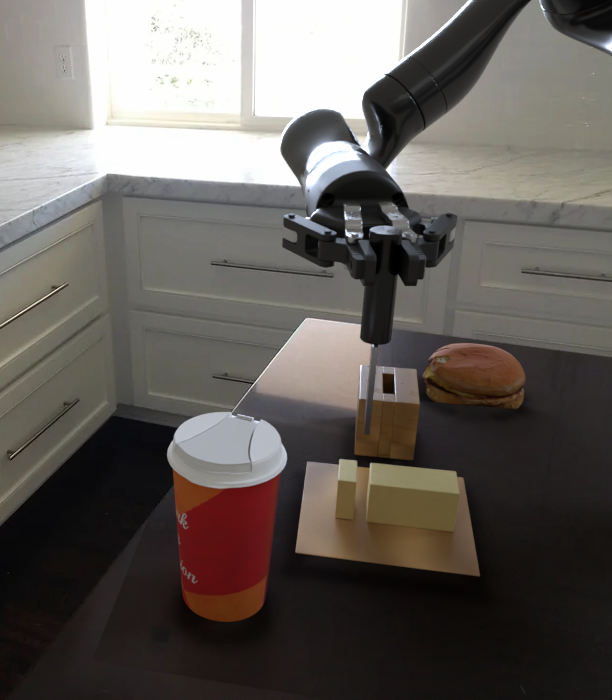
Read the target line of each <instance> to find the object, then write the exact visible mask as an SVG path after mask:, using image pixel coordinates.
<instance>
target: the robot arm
mask: <svg viewBox="0 0 612 700" xmlns="http://www.w3.org/2000/svg"><path fill="white" fill-rule="evenodd" d="M531 2H532V0H468V1H467V2H466V3H465V4H464V5H463V6H461V8H460V9H459V10H458V11H457V12H456V13H455V14H454V15H452V17H451V18H450V19H449V20H448V21H447V22H446V23H445V24H444V25H443V26H442V27H441V28H439V30H437V31H436V32H435V33H433V35H432V36H431V37H429V38H428V39H427V40H425V41H424V42H423V43H422V44H421V45H420V46H418V47H417V48H415V49H414V50H413V51H412V52H410V53H409V54H408V55H406V56H405V57H404V58H402V59H401V60H400V61H398V62H397V63H396V64H394V65H393V66H392V67H390V68H389V69H388V70H387V71H385V72H384V73H382V75H379V77H377V78H376V79H375V80H373V81H372V82H371V83H370V84H369V85H368V86H367V87H365V89H364V90H363V91H362V93H361V96H360V106H361V110H362V114H363V117H364V119H365V120H364V121H365V124H366V127H367V135H366V139H365V142H364V143H363V146H362V144H361V143H360V141H359V140H358V138H357V137H356V135H355V134H354V133H355V132H353V130H352V128H351V126H349V124H348V122H347V121H346V119H345V117H344V116H343V114H342V113H341V112H340V111H339V110H337V109H335V108H333V107H328V106H316V107H312V108H309V109H306V110H304V111H303V112H301V113H299V114H298V115H296V116H295V117H293V119H292V120H290V122H289V123H288V124H287V125H286V127H285V128H284V130H283V132H282V134H281V137H280V141H279V150H280V151H279V152H280V154H281V157H282V158H283V160H284V161H285V163H286V164H287V166H288V168H289V169H290V171H291V172H292V174H293V175H294V176H295V178H296V179H297V181H298V184H299V185H300V187H301V191H302V195H303V198H304V205H305V207H304V209H305V214H306V217H304V216H301V215H299V214H296V213H293V212H291V213H287V214H284V215H283V219H282V238H281V239H282V240H281V241H282V244H281V247H282V248H283V249H285V250H287V251H289V252H290V253H293V254H295V255H297V256H299V257H300V258H303V259H305V260H307V261H308V262H311V263H312V264H314V265H316V266H318V267H321V268H324V269H328V268H332V267H334V266H335V263H341V265H343V269H345V270H347V271H348V272H349V275H350V277H351V278H352V279H354V280H359V281H360V283H361V285H362V287H365V286H374V283H375V274H376V263H377V259H376V254H375V252H374V251H373V249H372V247H371V245H370V244H369V231H370V229H371V228H372V227H376V226H392V227H396V228H399V229H401V230H402V232H403V233H402V243H401V252H400V261H399V271H398V278H399V279H400V280H401V282H402V284H403V286H404V287H417V285H418V281H419V280H421V281H422V280H424V278H425V274H426V268H427V269H430V268H436V267H438V266H439V264H440V263H441V262H442V261H443V260H444V259H445V257H446V256H447V255H448V254H449V253H450V252H451V250H453V248H454V246H455V245H454V244H455V238H456V230H457V224H458V223H457V222H458V214H454V213H451V212H445V213H442V214H440V215H439V216H438V217H437V216H432V217H431V218H430V220H423V217H422V215H421V214H420V212H418V211H416V210H414V209H411V208H410V207H409V203H408V201H407V198H406V196H405V193H404V192H403V190H402V188H401V187H400V186H399V184H398V183H397V182H396V180H395V179H394V178H393V177H392V175H391V174H390V173H389V172H388V171H387V169H388V168H389V166H390V165H391V164H392V163H393V161H395V159H396V158H397V157H398V156H399V155H400V154H401V152H402V151H403V150H404V149H405V148H406V147H407V146H408V144H410V143H411V142H412V140H414V139H415V138H416V137H417V136H418V135H420V134H422V132H423V131H425V130H426V129H427V128H429V127H431V126H432V125H433V124H434V123H436V122H437V121H438V120H440V119H441V118H443V117H444V116H445V115H446V114H447V113H449V112H450V111H452V110H453V109H454V108H455V107H456V106H458V104H460V103H461V102H462V101H463V100H464V99H465V98H466V97H467V96H468V94H469V93H470V92H471V91H472V89H474V87H475V86H476V85H477V83H478V82H479V80H480V79H481V77H482V75H483V74H484V72H485V71H486V68H487V67H488V65H489V63H490V62H491V60H492V58H493V57H494V55H495V53H496V51H497V49H498V47H500V44H501V42H502V41H503V40H504V38H505V36H506V34H507V33H508V31H509V29H510V28H511V27H512V25H513V24H514V23H515V21H516V19H517V18H518V16H519V15H520V14H521V13H522V11H523V10H524V9H525V8H526V7H527V6H528V4H529V3H531ZM538 2H539V5H540V8H541V11H542V13H543V16H544V18H545V20H546V21H547V23H548V25H550V26H551V27H552V28H553V29H554V30H556V32H558V33H560V34H561V35H564V36H565V37H567V38H570V39H572V40H574V41H577V42H579V43H581V44H582V45H583V44H584V45H585V46H589V47H590V48H593V49H595V50H596V51H597V50H598V51H600V52H602V53H605V54H606V55H609V56H610V57H612V0H538ZM420 236H422V237H420Z"/></svg>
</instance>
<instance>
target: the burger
mask: <svg viewBox="0 0 612 700" xmlns="http://www.w3.org/2000/svg"><path fill="white" fill-rule="evenodd" d="M427 363H428V364H427V365H426V368H425V371H424V372H422V377H421V378H422V379H423V381H424V383H425V385H426V386H425V391H426V395H427V396H428V398H429V399H430V400H431V401H432V402H434V403H440V404H451V405H463V406H475V407H486V408H496V409H497V408H498V409H508V410H517V409H519V408H520V407H521V405H522V404H523V402H524V397H525V389H524V388H523V387H524V386H525V383H526V380H527V378H526V377H527V376H526V373H525V370H524V369H523V366H522V365H521V362H519V361H518V360H517V359H516V357H515V356H513V355H512V354H511V353H510V352H508V351H506V350H504V349H502V348H500V347H496V346H493V345H488V344H481V343H471V342H470V343H469V342H460V343H450V344H447V345H444V346H441V347H440V348H438V349H437V350H435V351H434V352H433V353H432V355H431V356H430V357H429V358H428V360H427Z"/></svg>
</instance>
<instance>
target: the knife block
mask: <svg viewBox="0 0 612 700" xmlns="http://www.w3.org/2000/svg"><path fill="white" fill-rule="evenodd" d="M368 374H369V365H368V364H367V365H366V364H360V366H359V378H358V387H357V398H356V412H355V428H354V429H355V430H354V453H353V454H354V455H355V456H366V457H375V458H382V459H383V458H384V459H394V460H402V461H403V460H404V461H405V460H406V461H414V457H415V447H416V441H417V431H418V425H419V424H418V423H419V416H420V408H421V402H420V391H419V382H418V372H417V369H416V368H408V367H407V368H406V367H395V366H380V365H377V366H376V376H375V386H374V396H373V405H372V415H371V425H370V435H364V418H365V406H366V395H367V385H368Z"/></svg>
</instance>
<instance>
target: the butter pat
mask: <svg viewBox="0 0 612 700" xmlns="http://www.w3.org/2000/svg"><path fill="white" fill-rule="evenodd" d="M338 465H339V471H338V483H337V495H336V510H335V518H342V519H350V520H353V517H354V506H355V495H356V485H357V467H358V460H355V459H344V458H340V459H339V460H338Z"/></svg>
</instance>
